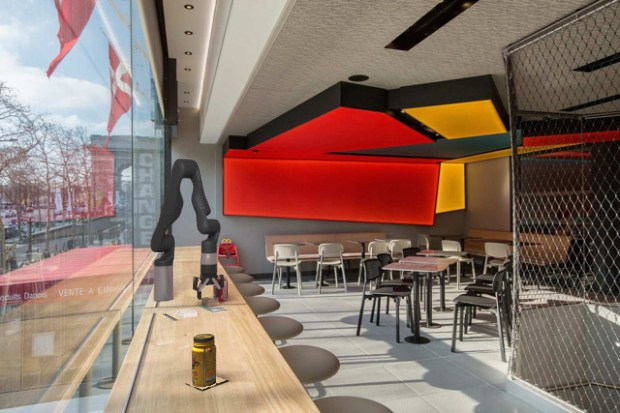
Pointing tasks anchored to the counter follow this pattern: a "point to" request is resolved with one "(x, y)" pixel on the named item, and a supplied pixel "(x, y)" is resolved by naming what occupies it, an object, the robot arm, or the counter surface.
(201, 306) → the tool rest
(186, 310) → the tile
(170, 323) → the counter surface
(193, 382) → the condiment
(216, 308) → the brown long block
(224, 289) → the soda can
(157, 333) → the counter surface
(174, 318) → the mat
